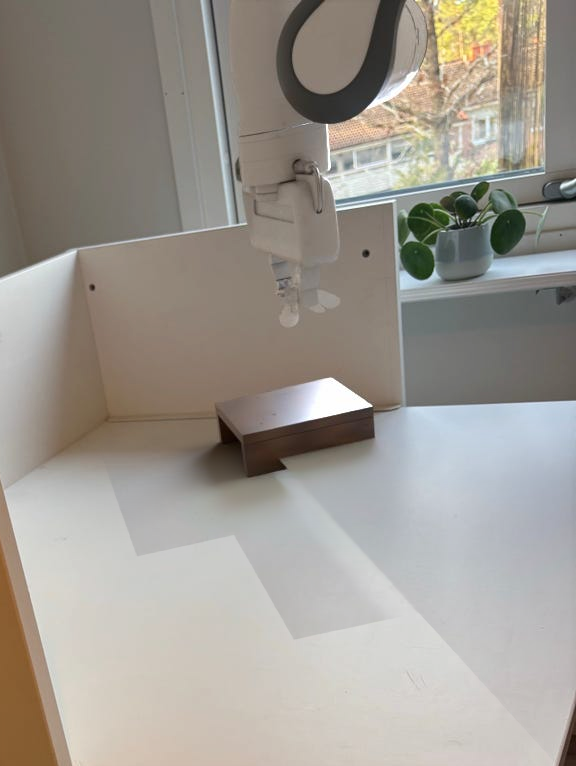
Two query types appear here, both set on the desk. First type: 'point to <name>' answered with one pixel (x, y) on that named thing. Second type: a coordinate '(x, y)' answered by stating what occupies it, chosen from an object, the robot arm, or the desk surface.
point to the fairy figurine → (290, 311)
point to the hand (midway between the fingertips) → (296, 300)
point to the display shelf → (293, 422)
